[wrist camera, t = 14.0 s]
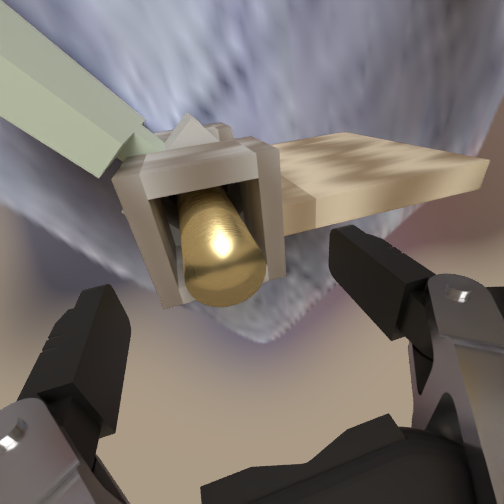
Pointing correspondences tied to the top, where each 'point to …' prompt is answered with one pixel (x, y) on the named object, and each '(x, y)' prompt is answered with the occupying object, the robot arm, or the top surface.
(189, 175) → the fixed leaf
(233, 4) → the top surface
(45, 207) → the top surface
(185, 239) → the brass pin
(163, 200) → the swinging leaf
